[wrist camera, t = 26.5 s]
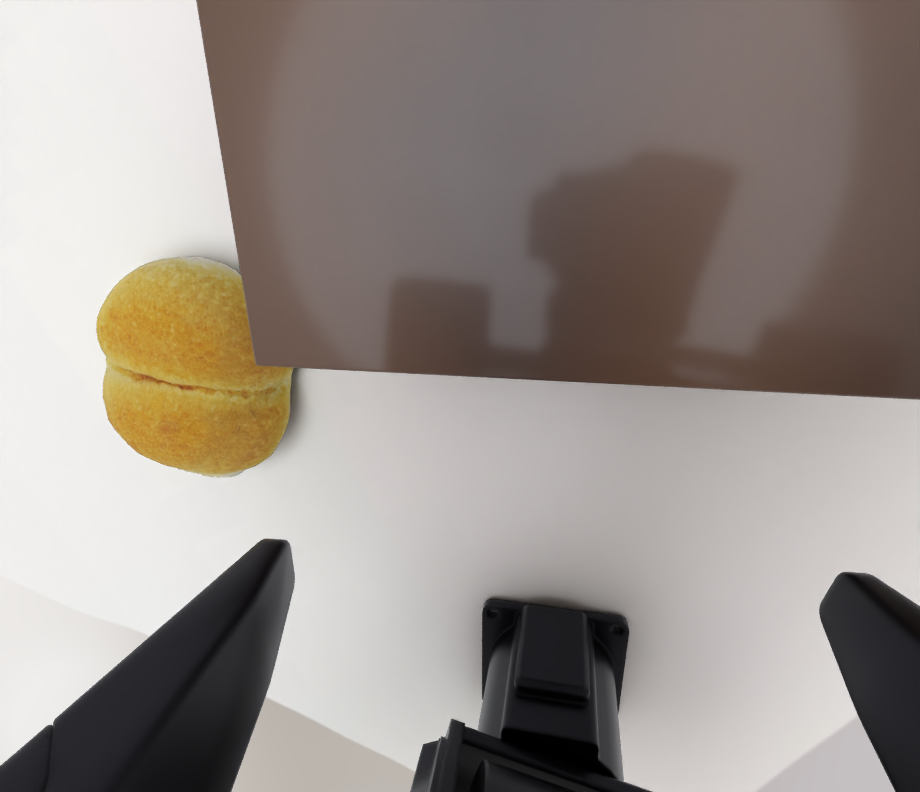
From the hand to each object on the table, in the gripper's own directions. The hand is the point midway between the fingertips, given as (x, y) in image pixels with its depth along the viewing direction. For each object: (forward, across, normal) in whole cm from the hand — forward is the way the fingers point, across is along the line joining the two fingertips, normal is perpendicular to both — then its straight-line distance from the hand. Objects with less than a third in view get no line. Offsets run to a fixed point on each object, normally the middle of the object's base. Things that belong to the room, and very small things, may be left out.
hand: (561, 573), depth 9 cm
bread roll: (+14, +12, +4) cm, 19 cm away
